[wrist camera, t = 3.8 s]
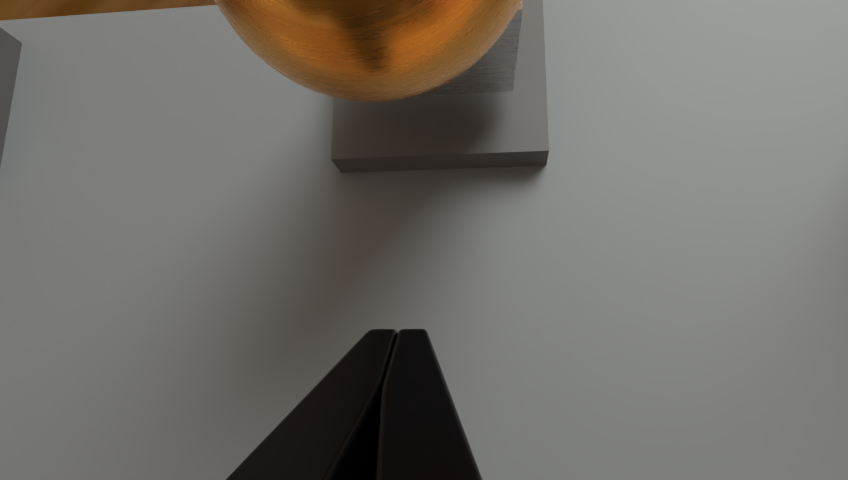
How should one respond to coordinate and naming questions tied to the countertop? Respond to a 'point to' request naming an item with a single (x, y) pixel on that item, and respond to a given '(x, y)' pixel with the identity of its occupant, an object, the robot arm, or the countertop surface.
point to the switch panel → (433, 243)
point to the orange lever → (384, 44)
